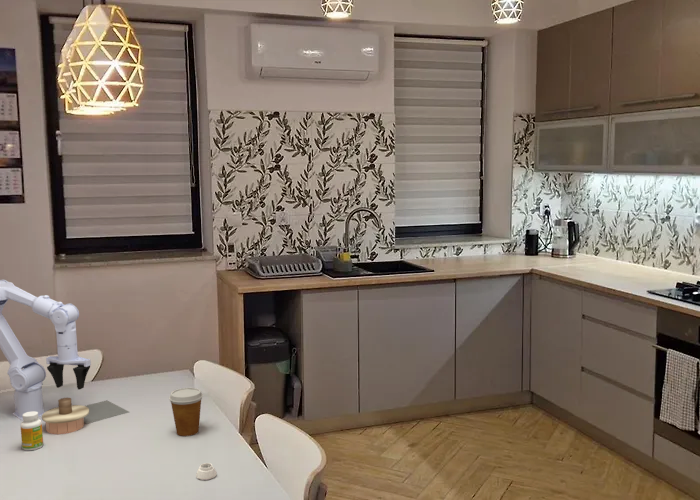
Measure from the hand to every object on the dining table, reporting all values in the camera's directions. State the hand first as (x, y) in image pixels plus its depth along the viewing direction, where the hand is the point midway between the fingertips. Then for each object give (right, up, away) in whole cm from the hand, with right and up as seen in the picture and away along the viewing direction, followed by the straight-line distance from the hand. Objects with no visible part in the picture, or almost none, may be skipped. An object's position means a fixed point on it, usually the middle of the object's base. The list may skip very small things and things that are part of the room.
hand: (70, 387), depth 219 cm
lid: (+1, -7, -7) cm, 10 cm away
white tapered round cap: (+50, -15, -41) cm, 66 cm away
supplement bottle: (-2, -13, -20) cm, 24 cm away
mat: (+6, -9, +6) cm, 12 cm away
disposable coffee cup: (+39, -11, -12) cm, 42 cm away
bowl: (+1, -11, -7) cm, 13 cm away
